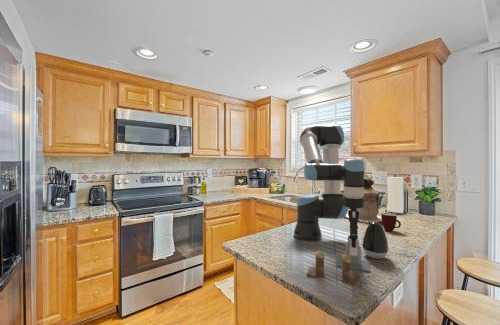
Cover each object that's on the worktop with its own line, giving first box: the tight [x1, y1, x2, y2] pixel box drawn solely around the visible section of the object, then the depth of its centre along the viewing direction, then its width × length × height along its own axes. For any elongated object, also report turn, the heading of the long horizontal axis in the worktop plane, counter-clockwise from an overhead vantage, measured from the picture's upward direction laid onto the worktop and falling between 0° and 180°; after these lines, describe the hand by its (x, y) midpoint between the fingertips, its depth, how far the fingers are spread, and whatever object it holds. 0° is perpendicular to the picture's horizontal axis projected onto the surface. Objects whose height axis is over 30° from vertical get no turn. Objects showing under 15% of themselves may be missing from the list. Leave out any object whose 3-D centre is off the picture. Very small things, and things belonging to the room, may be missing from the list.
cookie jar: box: [344, 176, 382, 225], centre depth 175 cm, size 25×25×32 cm
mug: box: [380, 212, 402, 232], centre depth 143 cm, size 11×8×10 cm
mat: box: [336, 256, 372, 273], centre depth 95 cm, size 12×10×1 cm
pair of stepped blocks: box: [306, 250, 361, 287], centre depth 85 cm, size 18×7×8 cm, turn 67°
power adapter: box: [345, 237, 362, 266], centre depth 95 cm, size 3×5×12 cm, turn 42°
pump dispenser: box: [361, 221, 389, 260], centre depth 104 cm, size 10×10×15 cm
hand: (353, 249), depth 95 cm, fingers open, 13 cm apart
